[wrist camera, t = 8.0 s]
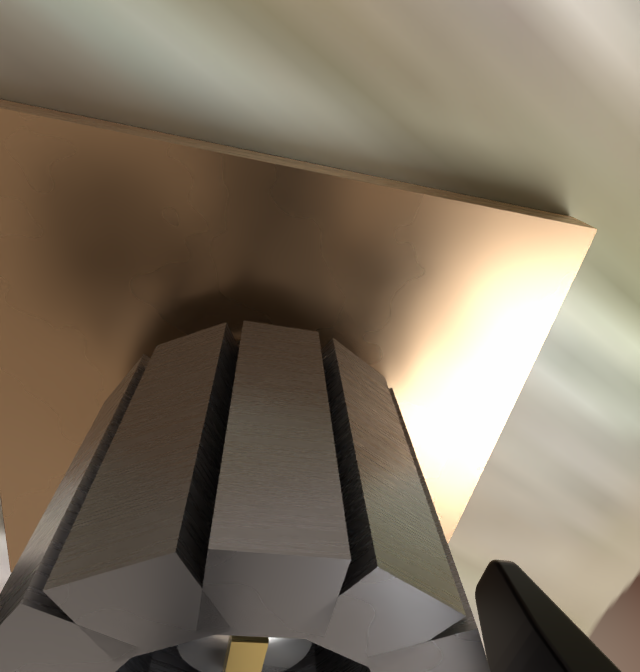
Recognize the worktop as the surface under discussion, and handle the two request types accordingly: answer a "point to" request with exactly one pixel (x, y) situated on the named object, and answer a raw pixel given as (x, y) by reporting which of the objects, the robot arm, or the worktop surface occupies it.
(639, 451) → the worktop surface
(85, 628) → the hub
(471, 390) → the shaft stand
